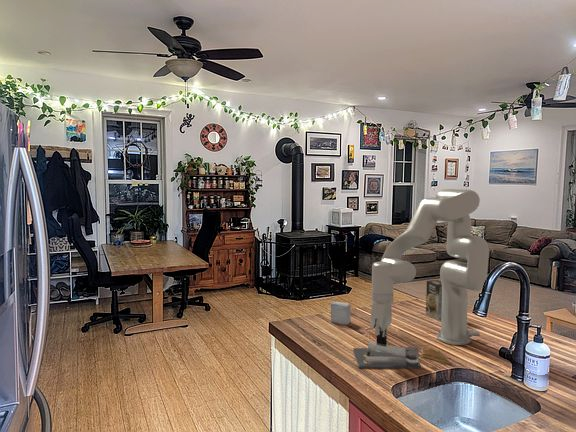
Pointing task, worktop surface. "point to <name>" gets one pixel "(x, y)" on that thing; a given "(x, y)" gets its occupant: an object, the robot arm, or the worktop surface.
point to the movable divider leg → (394, 350)
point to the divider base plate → (379, 365)
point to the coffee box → (434, 299)
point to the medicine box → (340, 313)
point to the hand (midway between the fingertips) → (381, 346)
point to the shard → (434, 355)
